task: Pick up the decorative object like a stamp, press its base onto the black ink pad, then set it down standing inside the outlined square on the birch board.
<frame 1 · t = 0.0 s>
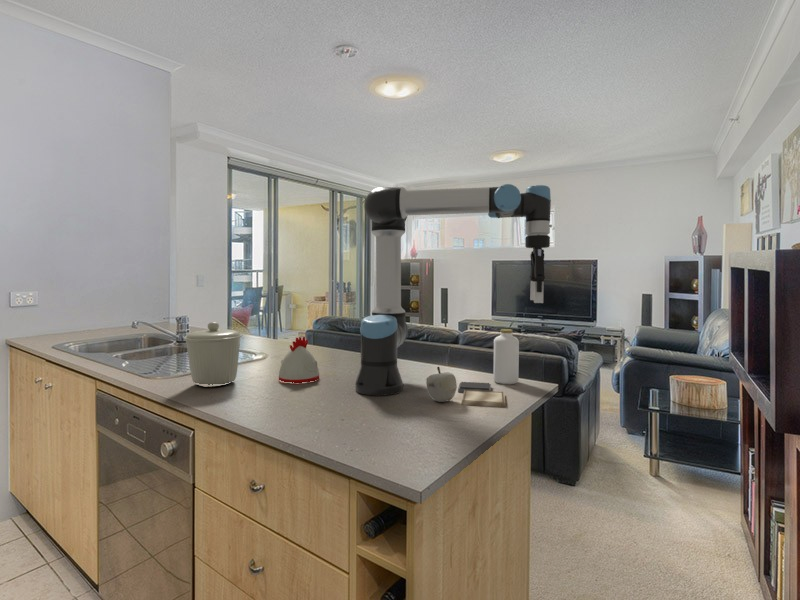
hand: (536, 301, 145), 28 cm above the worktop, fingers open, 13 cm apart
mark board: (483, 399, 132), on the worktop
grey knit hat: (299, 380, 158), on the worktop
canister: (214, 384, 151), on the worktop
ink pad: (474, 389, 143), on the worktop
decorative object: (441, 402, 130), on the worktop
potion bottle: (505, 382, 153), on the worktop
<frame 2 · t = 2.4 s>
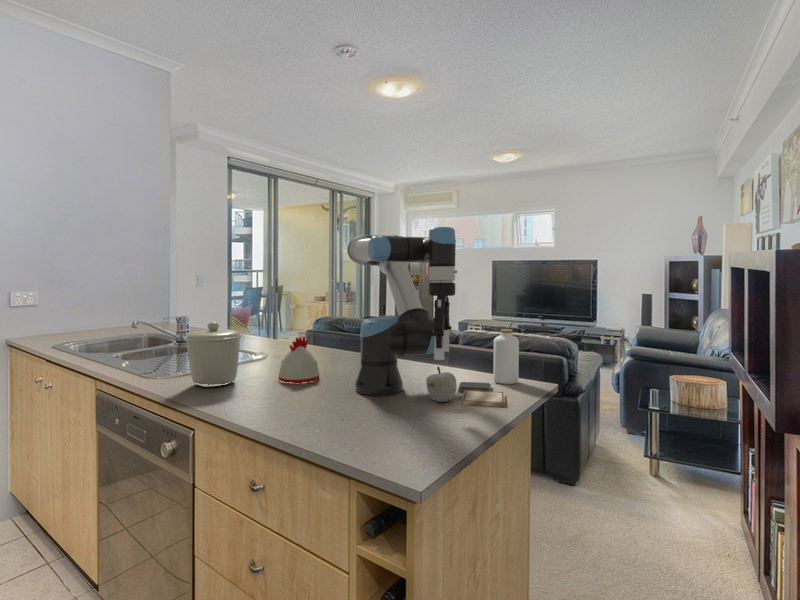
hand: (442, 355, 129), 14 cm above the worktop, fingers open, 13 cm apart
nothing on the worktop moved.
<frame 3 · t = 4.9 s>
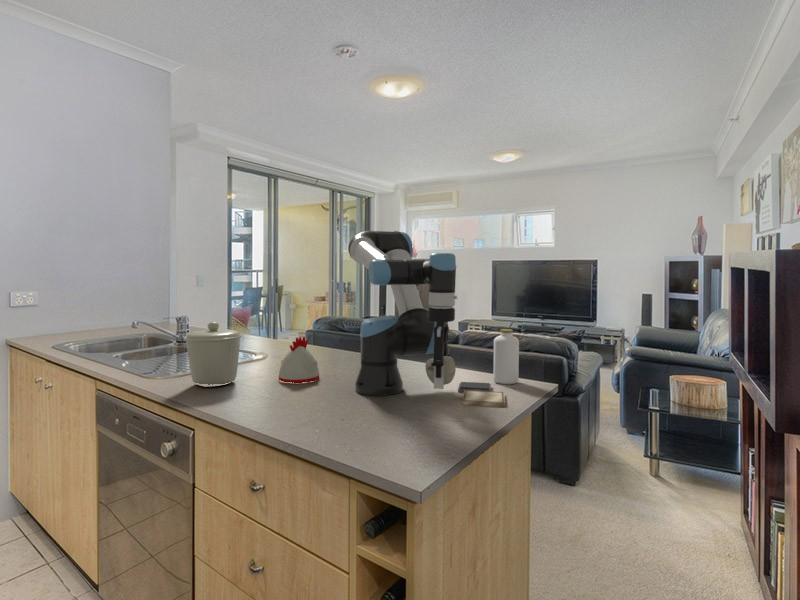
hand: (440, 383, 131), 5 cm above the worktop, fingers closed on decorative object, 9 cm apart
decorative object: (440, 385, 131), point 4 cm above the worktop, touching gripper
everything else where it was.
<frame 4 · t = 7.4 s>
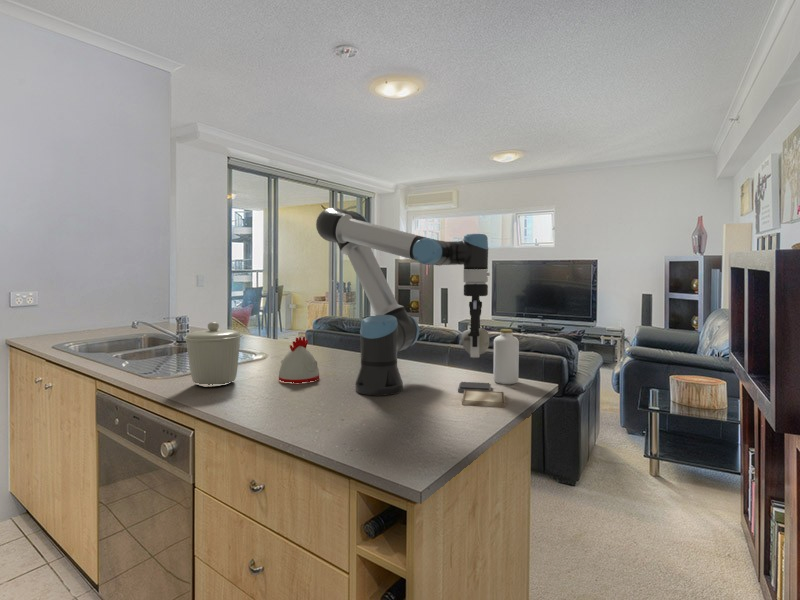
hand: (475, 354, 143), 11 cm above the worktop, fingers closed on decorative object, 9 cm apart
decorative object: (475, 355, 143), point 11 cm above the worktop, touching gripper
everything else where it was.
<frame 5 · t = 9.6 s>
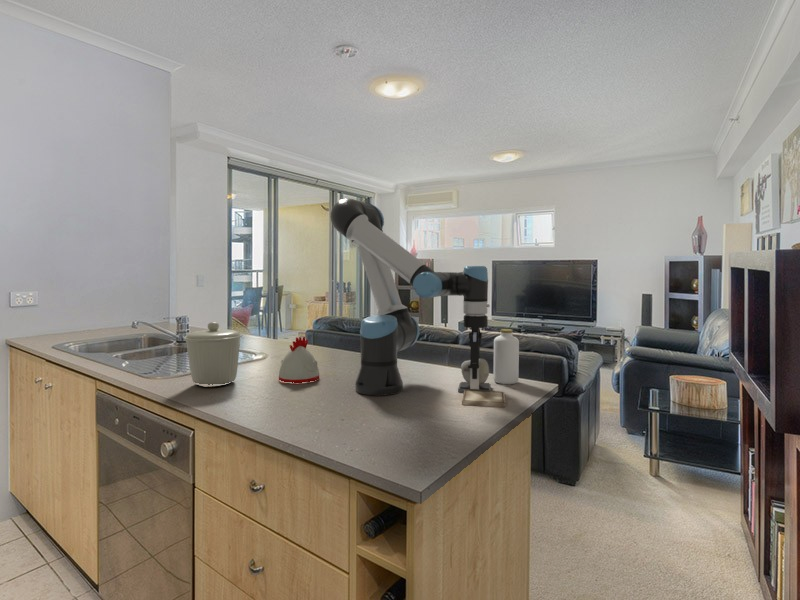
hand: (475, 385, 143), 2 cm above the worktop, fingers closed on decorative object, 9 cm apart
decorative object: (474, 385, 143), point 1 cm above the worktop, touching gripper, ink pad
everything else where it was.
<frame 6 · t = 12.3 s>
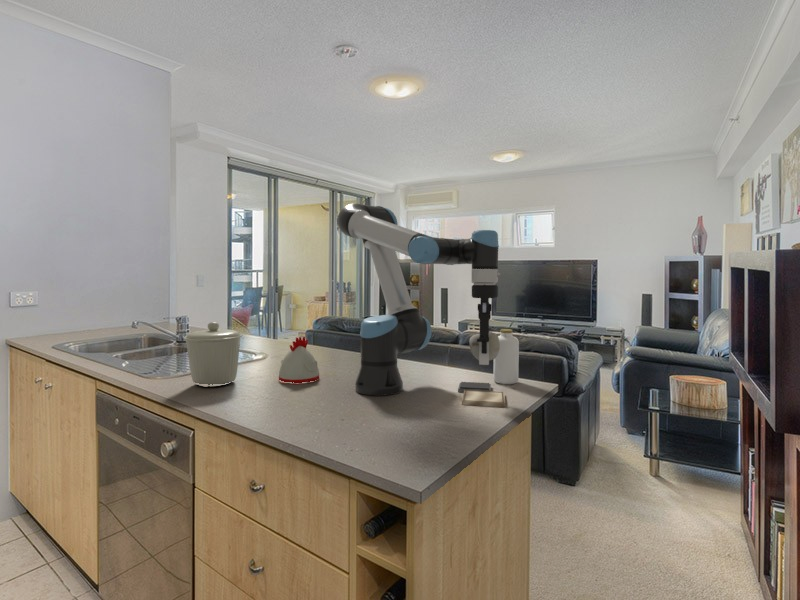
hand: (484, 361, 131), 11 cm above the worktop, fingers closed on decorative object, 9 cm apart
decorative object: (484, 362, 131), point 11 cm above the worktop, touching gripper
everything else where it was.
when the fingers open (2 cm above the worktop, at t = 14.4 s): decorative object stays where it is, resting on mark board.
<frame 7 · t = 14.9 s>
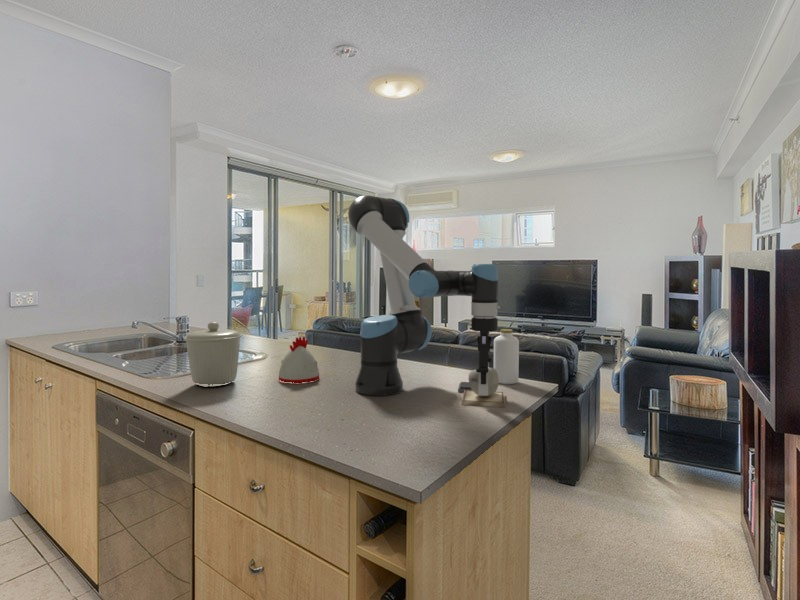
hand: (483, 389, 132), 3 cm above the worktop, fingers open, 13 cm apart
decorative object: (483, 396, 132), point 1 cm above the worktop, touching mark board
everything else where it was.
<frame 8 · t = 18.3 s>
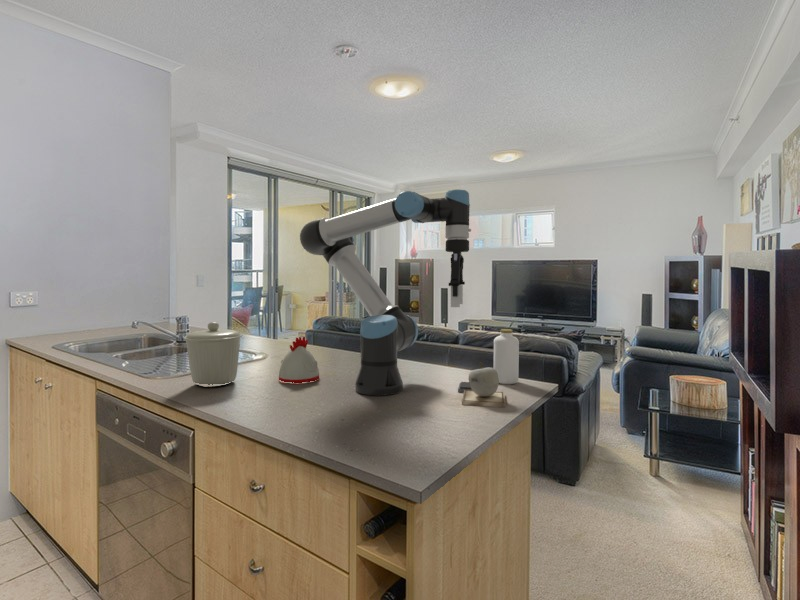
hand: (456, 305, 145), 27 cm above the worktop, fingers open, 13 cm apart
nothing on the worktop moved.
at the end: decorative object 0.2 cm off-centre on the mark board, point 0.8 cm above the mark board's base; decorative object tilted 0°; the gripper is holding nothing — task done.
